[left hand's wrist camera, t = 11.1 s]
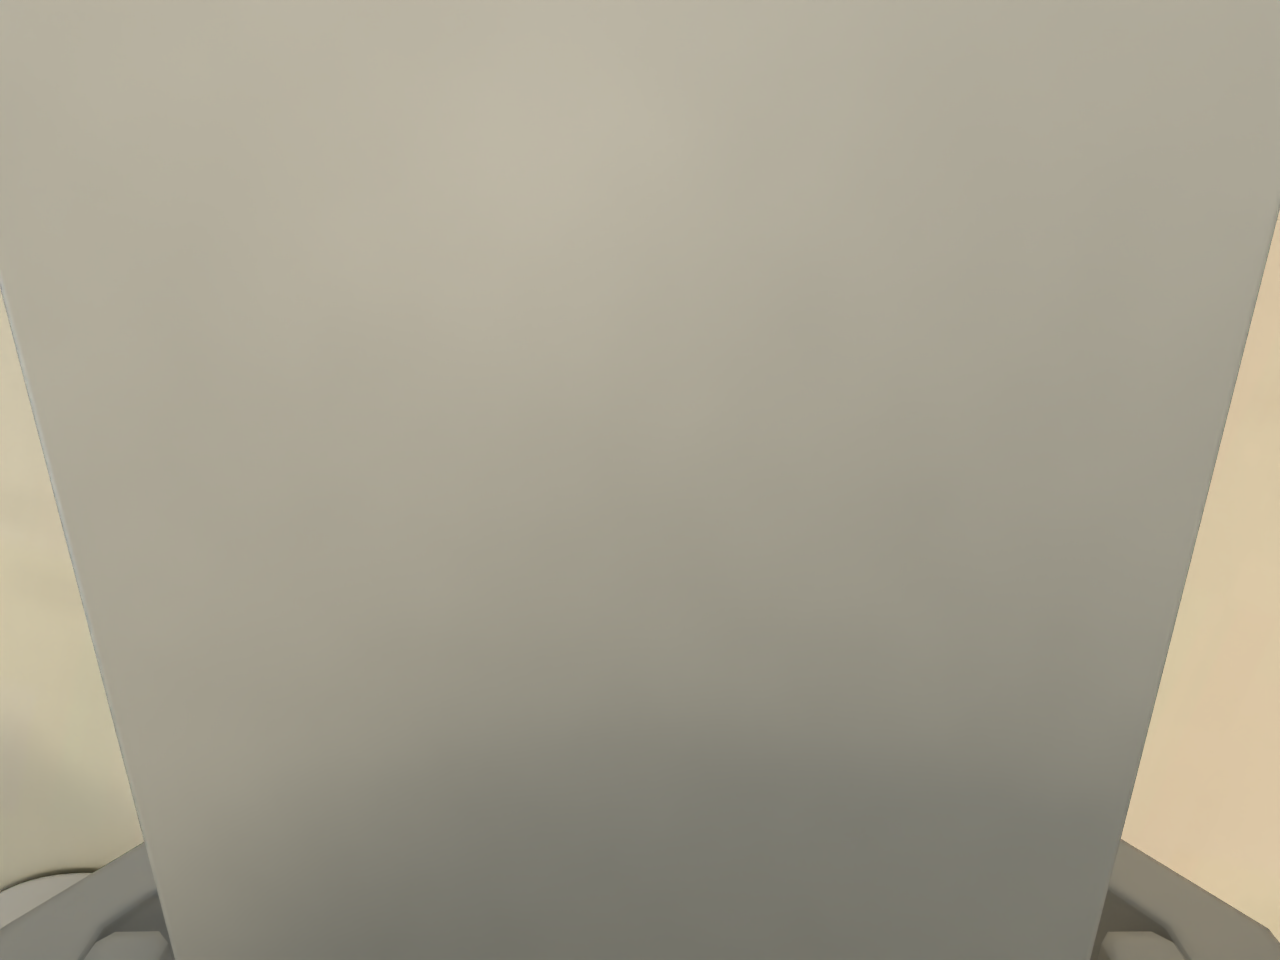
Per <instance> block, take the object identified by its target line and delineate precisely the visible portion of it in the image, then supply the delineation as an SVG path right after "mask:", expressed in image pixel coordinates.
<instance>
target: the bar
mask: <svg viewBox="0 0 1280 960" xmlns="http://www.w3.org/2000/svg"><path fill="white" fill-rule="evenodd" d="M1279 209H1280V0H0V289H1V293H2V296H3V300H4V304H5V308H6V312H7V316H8V319H9V323H10V327H11V331H12V335H13V339H14V342H15V346H16V350H17V354H18V358H19V362H20V366H21V369H22V373H23V377H24V381H25V385H26V389H27V392H28V396H29V400H30V404H31V408H32V412H33V415H34V419H35V423H36V427H37V431H38V435H39V439H40V442H41V446H42V450H43V454H44V458H45V462H46V465H47V469H48V473H49V477H50V481H51V485H52V489H53V492H54V496H55V500H56V504H57V508H58V512H59V515H60V519H61V523H62V527H63V531H64V535H65V538H66V542H67V546H68V550H69V554H70V558H71V562H72V565H73V569H74V573H75V577H76V581H77V585H78V588H79V592H80V596H81V600H82V604H83V608H84V611H85V615H86V619H87V623H88V627H89V631H90V635H91V638H92V642H93V646H94V650H95V654H96V658H97V661H98V665H99V669H100V673H101V677H102V681H103V685H104V688H105V692H106V696H107V700H108V704H109V708H110V711H111V715H112V719H113V723H114V727H115V731H116V734H117V738H118V742H119V746H120V750H121V754H122V758H123V761H124V765H125V769H126V773H127V777H128V781H129V784H130V788H131V792H132V796H133V800H134V804H135V807H136V811H137V815H138V819H139V823H140V827H141V831H142V834H143V838H144V842H145V846H146V850H147V854H148V857H149V861H150V865H151V869H152V873H153V877H154V881H155V884H156V888H157V892H158V896H159V900H160V904H161V907H162V911H163V915H164V919H165V923H166V927H167V930H168V934H169V938H170V942H171V946H172V950H173V954H174V957H175V960H1090V958H1091V954H1092V950H1093V946H1094V942H1095V938H1096V934H1097V930H1098V926H1099V922H1100V918H1101V914H1102V910H1103V906H1104V902H1105V898H1106V894H1107V890H1108V886H1109V882H1110V878H1111V875H1112V871H1113V867H1114V863H1115V859H1116V855H1117V851H1118V847H1119V843H1120V839H1121V835H1122V831H1123V827H1124V823H1125V819H1126V815H1127V811H1128V807H1129V803H1130V799H1131V795H1132V791H1133V787H1134V783H1135V779H1136V776H1137V772H1138V768H1139V764H1140V760H1141V756H1142V752H1143V748H1144V744H1145V740H1146V736H1147V732H1148V728H1149V724H1150V720H1151V716H1152V712H1153V708H1154V704H1155V700H1156V696H1157V692H1158V688H1159V684H1160V681H1161V677H1162V673H1163V669H1164V665H1165V661H1166V657H1167V653H1168V649H1169V645H1170V641H1171V637H1172V633H1173V629H1174V625H1175V621H1176V617H1177V613H1178V609H1179V605H1180V601H1181V597H1182V593H1183V589H1184V585H1185V582H1186V578H1187V574H1188V570H1189V566H1190V562H1191V558H1192V554H1193V550H1194V546H1195V542H1196V538H1197V534H1198V530H1199V526H1200V522H1201V518H1202V514H1203V510H1204V506H1205V502H1206V498H1207V494H1208V490H1209V486H1210V483H1211V479H1212V475H1213V471H1214V467H1215V463H1216V459H1217V455H1218V451H1219V447H1220V443H1221V439H1222V435H1223V431H1224V427H1225V423H1226V419H1227V415H1228V411H1229V407H1230V403H1231V399H1232V395H1233V391H1234V387H1235V384H1236V380H1237V376H1238V372H1239V368H1240V364H1241V360H1242V356H1243V352H1244V348H1245V344H1246V340H1247V336H1248V332H1249V328H1250V324H1251V320H1252V316H1253V312H1254V308H1255V304H1256V300H1257V296H1258V292H1259V288H1260V285H1261V281H1262V277H1263V273H1264V269H1265V265H1266V261H1267V257H1268V253H1269V249H1270V245H1271V241H1272V237H1273V233H1274V229H1275V225H1276V221H1277V217H1278V213H1279Z"/></svg>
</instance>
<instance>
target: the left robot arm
mask: <svg viewBox="0 0 1280 960" xmlns="http://www.w3.org/2000/svg"><path fill="white" fill-rule="evenodd" d="M0 960H175V957H174V954H173V950H172V946H171V942H170V938H169V934H168V930H167V927H166V923H165V919H164V915H163V911H162V907H161V904H160V900H159V896H158V892H157V888H156V884H155V881H154V877H153V873H152V869H151V865H150V861H149V857H148V854H147V850H146V846H145V842H143V843H142V844H140V845H138V846H137V847H135V848H133V849H132V850H130V851H128V852H127V853H125V854H123V855H122V856H120V857H118V858H117V859H115V860H113V861H112V862H110V863H108V864H107V865H105V866H103V867H102V868H100V869H98V870H97V871H95V872H93V873H69V874H59V875H52V876H46V877H41V878H37V879H33V880H30V881H27V882H23V883H20V884H18V885H15V886H13V887H10V888H8V889H6V890H4V891H2V892H0ZM1090 960H1280V943H1279V942H1278V940H1277V939H1276V938H1275V937H1274V935H1273V934H1272V933H1271V931H1270V930H1269V929H1268V928H1266V927H1264V926H1263V925H1261V924H1260V923H1258V922H1256V921H1255V920H1253V919H1251V918H1250V917H1248V916H1246V915H1245V914H1243V913H1242V912H1240V911H1238V910H1237V909H1235V908H1233V907H1232V906H1230V905H1228V904H1227V903H1225V902H1223V901H1222V900H1220V899H1219V898H1217V897H1215V896H1214V895H1212V894H1210V893H1209V892H1207V891H1205V890H1204V889H1202V888H1201V887H1199V886H1197V885H1196V884H1194V883H1192V882H1191V881H1189V880H1187V879H1186V878H1184V877H1182V876H1181V875H1179V874H1178V873H1176V872H1174V871H1173V870H1171V869H1169V868H1168V867H1166V866H1164V865H1163V864H1161V863H1160V862H1158V861H1156V860H1155V859H1153V858H1151V857H1150V856H1148V855H1146V854H1145V853H1143V852H1141V851H1140V850H1138V849H1137V848H1135V847H1133V846H1132V845H1130V844H1128V843H1127V842H1125V841H1123V840H1122V839H1120V843H1119V847H1118V851H1117V855H1116V859H1115V863H1114V867H1113V871H1112V875H1111V878H1110V882H1109V886H1108V890H1107V894H1106V898H1105V902H1104V906H1103V910H1102V914H1101V918H1100V922H1099V926H1098V930H1097V934H1096V938H1095V942H1094V946H1093V950H1092V954H1091V958H1090Z"/></svg>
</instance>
